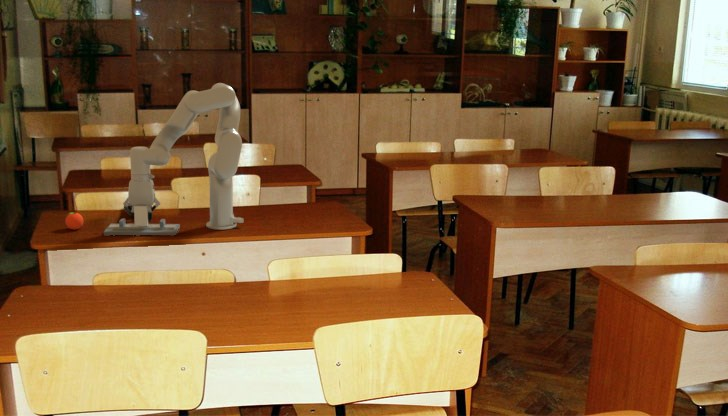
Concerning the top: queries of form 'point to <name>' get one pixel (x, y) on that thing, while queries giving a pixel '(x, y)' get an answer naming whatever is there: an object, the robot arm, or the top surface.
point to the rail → (123, 226)
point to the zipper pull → (128, 210)
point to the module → (141, 215)
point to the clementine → (74, 221)
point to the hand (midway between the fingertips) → (142, 220)
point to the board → (141, 231)
